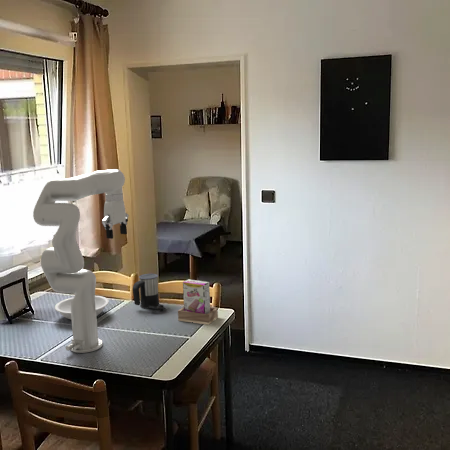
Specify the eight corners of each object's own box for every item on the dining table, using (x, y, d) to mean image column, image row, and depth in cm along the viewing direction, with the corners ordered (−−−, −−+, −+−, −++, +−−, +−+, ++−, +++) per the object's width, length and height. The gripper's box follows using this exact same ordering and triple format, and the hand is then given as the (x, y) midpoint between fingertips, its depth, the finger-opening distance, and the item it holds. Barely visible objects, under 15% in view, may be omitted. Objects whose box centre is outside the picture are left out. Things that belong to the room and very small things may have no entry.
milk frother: (146, 301, 263) (145, 272, 260) (175, 304, 257) (173, 275, 254) (131, 311, 250) (129, 280, 247) (161, 314, 244) (159, 283, 241)
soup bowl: (102, 326, 232) (101, 312, 230) (48, 328, 232) (46, 313, 231) (115, 307, 255) (114, 294, 254) (65, 308, 256) (64, 295, 255)
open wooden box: (208, 324, 230) (208, 314, 229) (178, 320, 236) (177, 310, 235) (217, 317, 238) (217, 308, 237) (188, 313, 244) (187, 304, 243)
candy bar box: (183, 317, 237) (182, 281, 234) (189, 313, 241) (188, 278, 238) (205, 321, 231) (203, 284, 228) (211, 317, 236) (209, 281, 233)
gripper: (119, 194, 241) (122, 231, 245) (94, 200, 226) (97, 239, 229) (133, 195, 238) (135, 232, 241) (108, 200, 223) (111, 240, 226)
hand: (117, 236), depth 235 cm, fingers open, 9 cm apart
